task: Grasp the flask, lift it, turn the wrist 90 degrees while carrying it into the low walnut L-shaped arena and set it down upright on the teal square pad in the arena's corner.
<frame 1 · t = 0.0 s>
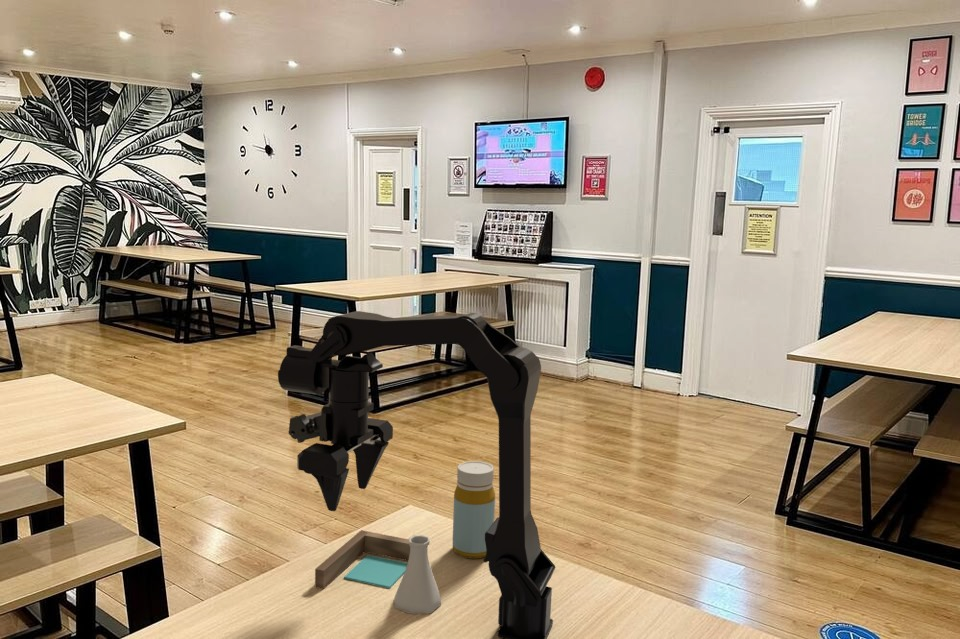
hand: (347, 499, 110), 15 cm above the table, fingers open, 9 cm apart
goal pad: (378, 571, 118), on the table
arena: (372, 574, 118), on the table
bottle: (472, 551, 127), on the table
flask: (417, 603, 110), on the table
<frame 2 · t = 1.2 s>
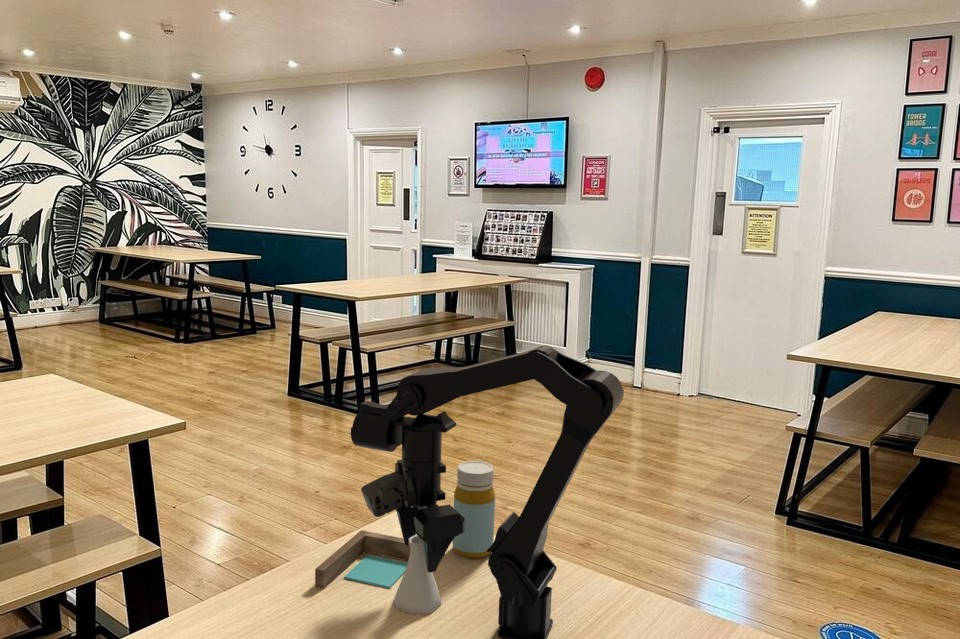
hand: (419, 557, 109), 7 cm above the table, fingers open, 9 cm apart
nothing on the table moved.
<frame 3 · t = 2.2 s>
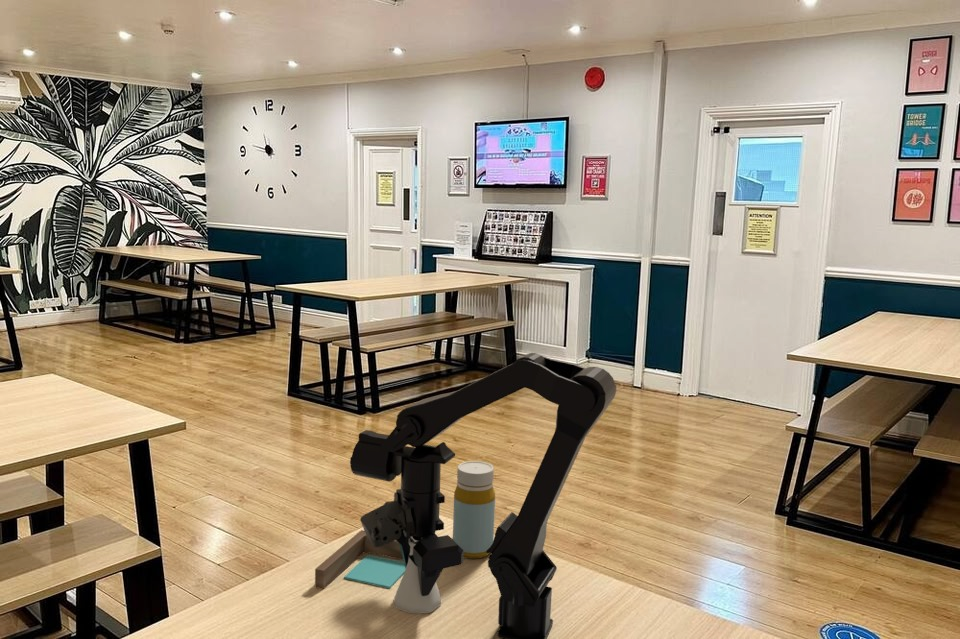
hand: (418, 586, 109), 3 cm above the table, fingers closed on flask, 5 cm apart
flask: (417, 603, 110), on the table, touching gripper
everything else where it was.
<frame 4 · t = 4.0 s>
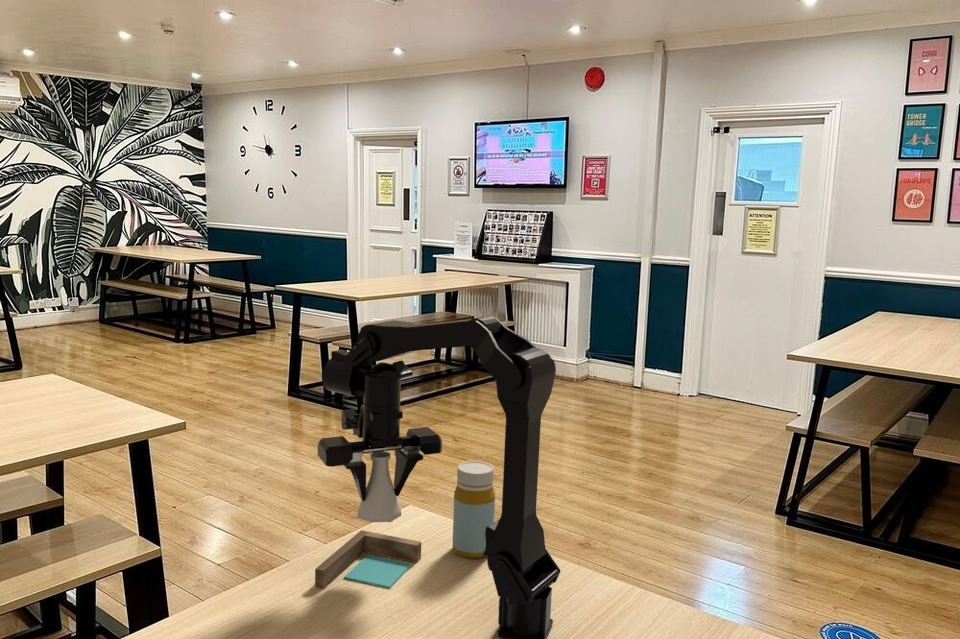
hand: (379, 497, 116), 13 cm above the table, fingers closed on flask, 5 cm apart
flask: (379, 515, 117), point 10 cm above the table, touching gripper
everything else where it was.
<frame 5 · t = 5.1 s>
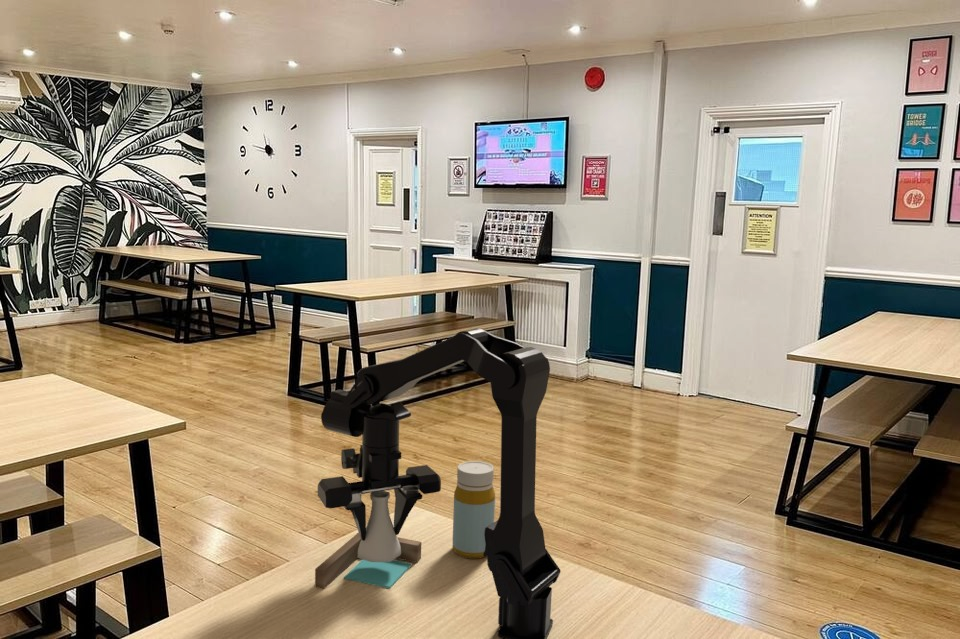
hand: (379, 536, 117), 6 cm above the table, fingers closed on flask, 5 cm apart
flask: (379, 554, 118), point 3 cm above the table, touching gripper
everything else where it was.
when the fingers open (4 cm above the table, at t = 5.8 s): flask drops 1 cm, resting on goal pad.
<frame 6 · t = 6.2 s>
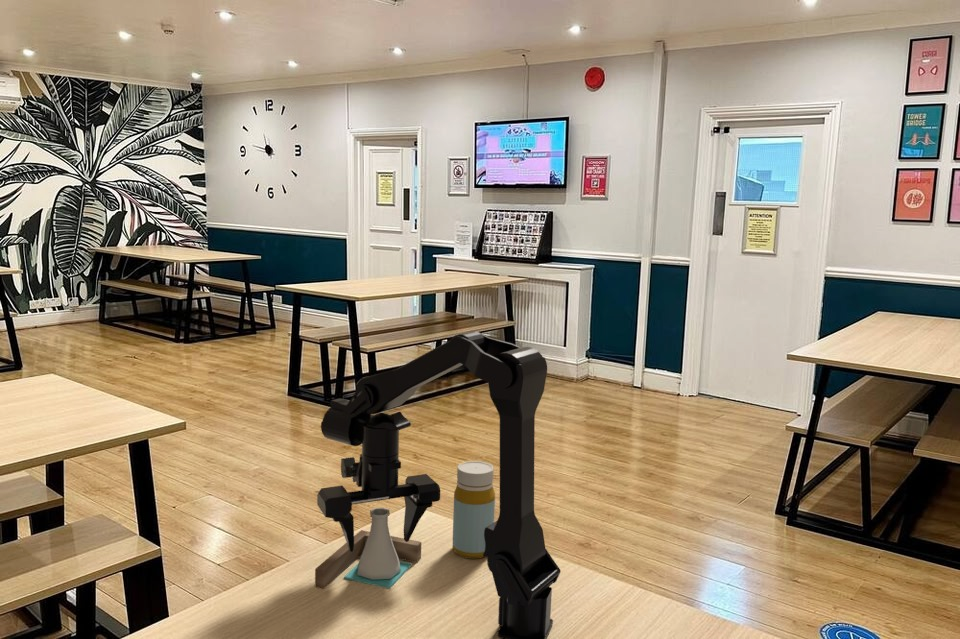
hand: (379, 545, 118), 4 cm above the table, fingers open, 9 cm apart
flask: (378, 571, 118), resting on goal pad
everything else where it was.
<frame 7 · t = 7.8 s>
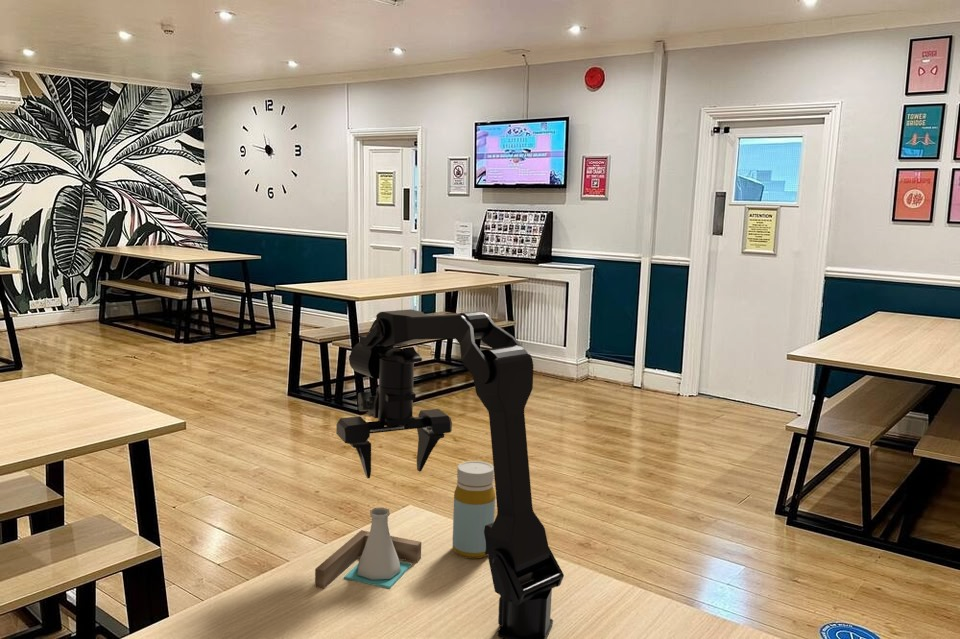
hand: (393, 474, 125), 13 cm above the table, fingers open, 9 cm apart
nothing on the table moved.
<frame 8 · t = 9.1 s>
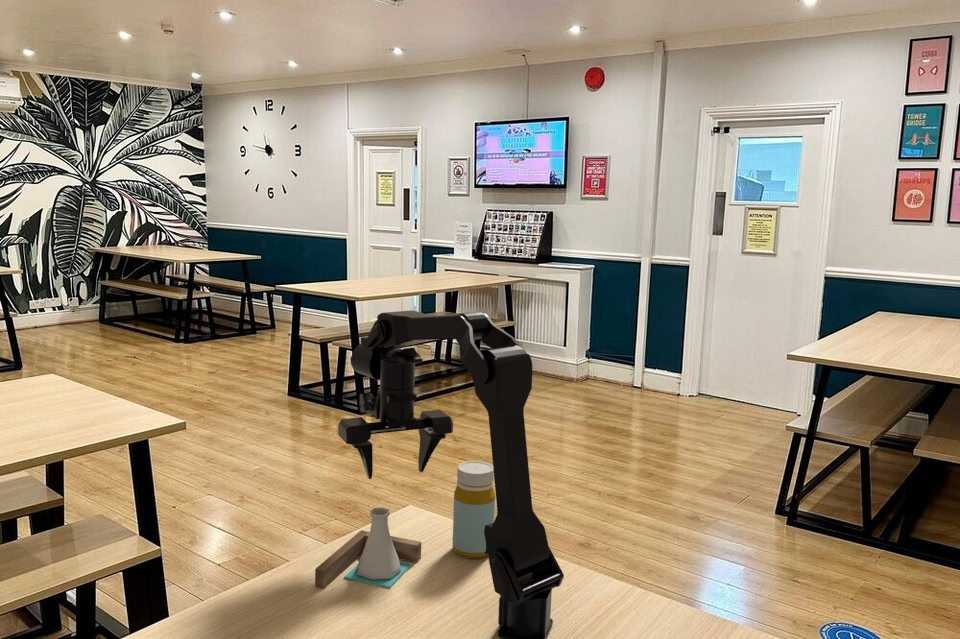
hand: (395, 474, 125), 13 cm above the table, fingers open, 9 cm apart
nothing on the table moved.
at the end: flask inside the target area (0.1 cm from its centre), resting on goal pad; flask tilted 0°; the gripper is holding nothing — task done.
